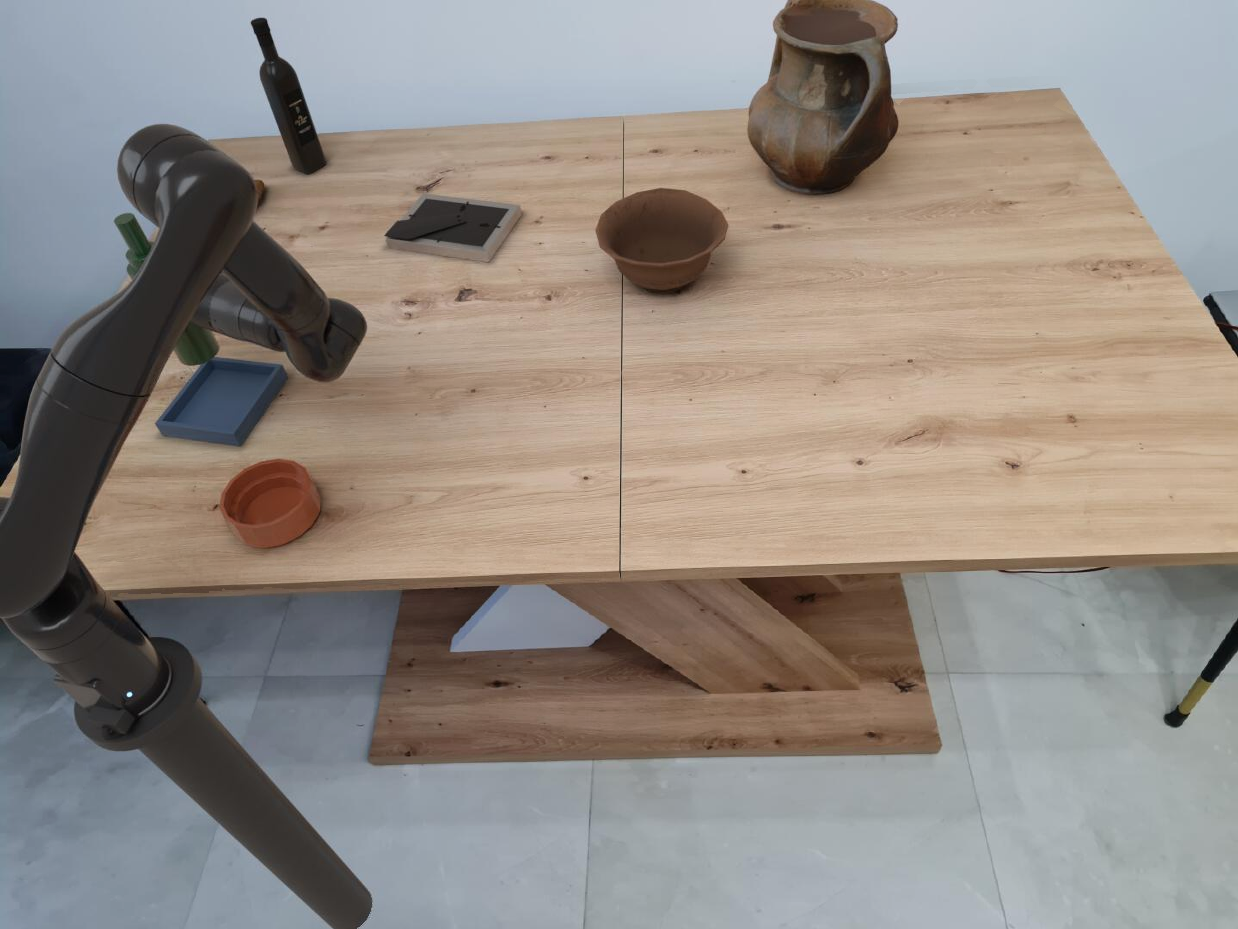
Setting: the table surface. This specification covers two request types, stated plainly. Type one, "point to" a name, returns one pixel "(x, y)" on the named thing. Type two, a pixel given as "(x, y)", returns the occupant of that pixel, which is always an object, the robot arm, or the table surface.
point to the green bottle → (195, 340)
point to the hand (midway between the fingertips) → (148, 280)
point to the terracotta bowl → (270, 503)
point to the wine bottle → (288, 104)
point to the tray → (222, 401)
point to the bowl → (661, 237)
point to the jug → (825, 94)
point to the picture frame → (454, 227)
